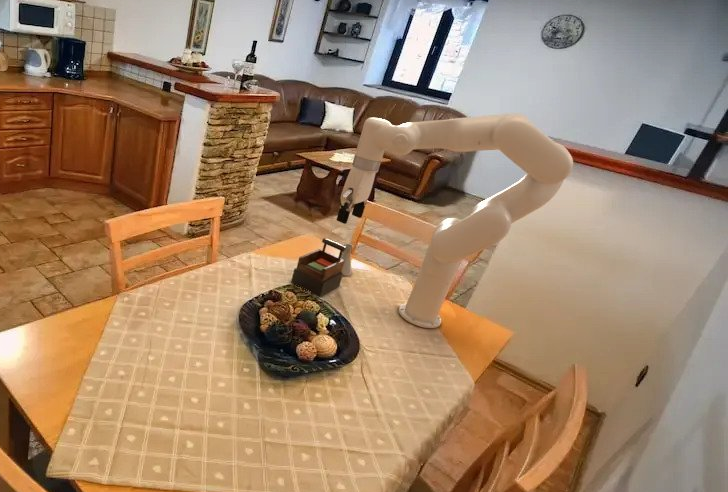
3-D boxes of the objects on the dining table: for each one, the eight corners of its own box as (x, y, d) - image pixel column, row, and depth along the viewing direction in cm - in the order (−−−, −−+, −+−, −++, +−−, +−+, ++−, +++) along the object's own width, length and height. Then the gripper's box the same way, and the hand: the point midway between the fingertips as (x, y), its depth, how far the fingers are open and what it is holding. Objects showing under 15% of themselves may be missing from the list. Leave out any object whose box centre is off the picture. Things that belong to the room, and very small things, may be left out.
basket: (316, 260, 166) (323, 236, 162) (341, 271, 161) (349, 247, 157) (296, 269, 157) (302, 244, 153) (322, 282, 152) (329, 256, 148)
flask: (350, 268, 176) (358, 243, 172) (352, 278, 170) (360, 251, 165) (329, 265, 176) (337, 239, 172) (331, 274, 170) (339, 247, 165)
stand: (310, 273, 168) (314, 259, 166) (339, 286, 162) (343, 273, 160) (290, 282, 160) (294, 268, 157) (319, 297, 154) (323, 283, 152)
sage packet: (312, 266, 159) (313, 261, 158) (325, 272, 157) (326, 267, 156) (306, 268, 157) (307, 264, 156) (319, 274, 154) (320, 270, 153)
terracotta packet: (320, 262, 163) (321, 258, 162) (332, 268, 160) (334, 263, 159) (314, 264, 160) (315, 260, 159) (327, 270, 158) (328, 266, 157)
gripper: (367, 157, 151) (351, 210, 159) (340, 162, 139) (324, 219, 147) (390, 164, 147) (372, 218, 155) (364, 171, 135) (346, 229, 143)
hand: (349, 219), depth 151 cm, fingers open, 9 cm apart
